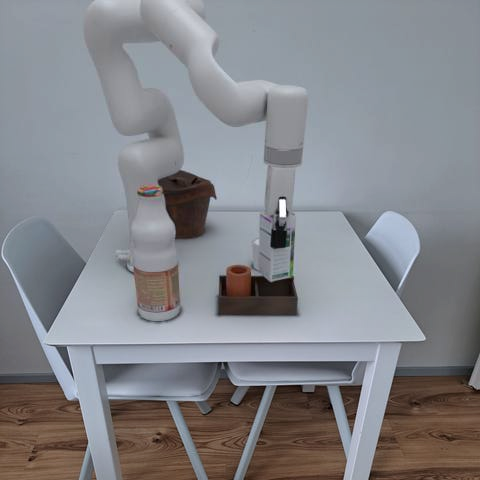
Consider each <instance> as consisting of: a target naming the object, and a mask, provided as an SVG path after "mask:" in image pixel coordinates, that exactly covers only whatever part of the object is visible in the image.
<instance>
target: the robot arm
mask: <svg viewBox="0 0 480 480" xmlns="http://www.w3.org/2000/svg"><path fill="white" fill-rule="evenodd" d="M206 15H207V13H206V7H205V4H204V1H203V0H93V1H92V2H91V3H90V4H89V5H88V7H87V9H86V11H85V14H84V17H83V37H84V41H85V46H86V48H87V51H88V53H89V56H90V58H91V60H92V63H93V65H94V67H95V70H96V73H97V74H98V78H99V81H100V85H101V89H102V91H103V96H104V98H105V102H106V106H107V109H108V112H109V117H110V119H111V122H112V125H113V128H114V129H115V130H116V132H117V133H118V134H120V135H121V136H125V137H133V136H141V135H143V134H147V137H148V138H145V139H141V140H138V141H134V142H131V143H129V144H126V145H125V146H124V147H123V148H122V149H121V150H120V152H119V153H118V156H117V166H118V171H119V175H120V178H121V181H122V186H123V190H124V195H125V203H126V210H127V211H126V212H127V220H128V229H129V240H130V248H127V249H115V251H114V252H115V254H114V256H115V258H118V260H119V261H126V267H127V269H128V271H130V272H131V273H133V274H134V267H133V249H134V242H133V240H132V237H131V225H132V223H133V221H134V219H135V217H136V213H137V209H138V205H139V201H140V198H139V197H138V194H137V189H138V187H140V186H143V185H158V180H159V179H161V178H164V177H167V176H170V175H173V174H175V173H177V172H178V171H179V170H182V168H183V166H184V164H185V163H184V162H185V151H184V147H183V141H182V138H181V133H180V130H179V125H178V120H177V117H176V113H175V110H174V106H173V103H172V102H171V100H170V99H169V97H168V96H167V95H166V94H165V92H163V91H162V90H160V89H158V88H155V87H154V88H153V87H146V88H143V87H142V83H141V81H140V77H139V74H138V70H137V66H136V65H135V63H134V60H133V59H132V58H131V56H130V54H128V52H127V51H126V49H124V47H123V45H124V44H149V43H150V44H151V43H158V42H160V43H162V45H164V46H165V48H167V50H169V51H170V52H171V54H173V56H174V57H176V59H177V60H178V61H179V62H180V63H182V65H183V66H184V67H185V68H186V69H187V72H188V78H189V81H190V84H191V87H192V90H193V92H194V94H195V95H196V97H197V98H198V100H199V101H200V102H201V103H202V104H203V105H204V107H205V108H206V109H207V110H208V111H209V112H210V113H211V114H212V115H213V116H214V117H215V118H217V119H218V120H219V121H221V123H222V124H225V125H226V126H229V127H232V128H240V127H245V126H248V125H252V124H257V123H261V122H265V131H264V149H263V151H264V152H263V164H265V165H266V166H267V169H266V180H265V192H264V199H263V200H264V201H263V202H264V203H263V205H264V208H265V210H264V211H266V214H267V215H268V216H270V215H273V229H271V241H270V247H271V248H285V247H286V239H287V217H289V216H290V215H291V212H292V210H293V201H294V191H295V180H296V168H298V167H301V166H302V164H303V163H302V162H303V153H304V144H305V134H306V133H305V132H306V124H307V114H308V104H309V93H308V91H307V89H306V88H305V87H303V86H298V85H291V84H278V83H275V82H272V81H268V80H266V79H254V80H245V81H239V82H238V81H237V82H236V81H235V80H234V79H233V78H232V77H231V76H229V75H228V73H226V71H224V70H223V69H222V67H221V66H220V65H219V64H218V62H217V61H216V59H215V57H216V56H217V52H218V50H219V47H220V38H219V35H218V33H217V32H216V30H214V29H213V28H212V27H211V26H210V25H209V24H208V23H207V22H206ZM158 186H159V185H158ZM162 201H163V203H164V206H165V208H166V204H165V197H164V194H163V196H162ZM276 212H279V214H276ZM276 218H279V220H277V222H276Z"/></svg>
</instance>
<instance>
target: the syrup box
mask: <svg viewBox="0 0 480 480" xmlns="http://www.w3.org/2000/svg"><path fill="white" fill-rule="evenodd" d="M276 214H279V212H276ZM277 220H279V218H276V222H277ZM296 221H297V215H296V213H294V212H292V211H291V215H290V216H289V217H287V239H286V247H285V248H271V247H270V241H271V229H273V215H270V216H268V215H267V214H266V210H260V211H259V230H258V231H259V232H258V233H259V235H258V238H259V270H258V272H259V274H260V275H261V276H264V277H265V278H266V279H267V280H269V281H270V282H273V281H276V280H281V279H286V278H291V277H293V276H294V261H295V260H294V259H295V243H296V242H295V241H296V225H297V222H296Z"/></svg>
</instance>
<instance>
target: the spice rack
mask: <svg viewBox="0 0 480 480" xmlns="http://www.w3.org/2000/svg"><path fill="white" fill-rule="evenodd" d="M298 301H299V297H298V292H297V288H296V285H295V276H294V275H293V277H291V278H286V279H281V280H276V281H273V282H270V281H269V280H267V279H266V278H265V277H264V276H263V275H251V292H250V296H226V274H224V275H223V274H222V275H221V274H220V275H218V315H219V316H297V313H298Z"/></svg>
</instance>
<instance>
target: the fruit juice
mask: <svg viewBox="0 0 480 480" xmlns="http://www.w3.org/2000/svg"><path fill="white" fill-rule="evenodd" d="M137 194H138V197H139V198H140V201H139V205H138V209H137V213H136V217H135V219H134V221H133V223H132V225H131V237H132V240H133V242H134V249H133V267H134V273H133V275H134V284H135V285H134V286H135V293H136V303H137V304H136V305H137V310H138V314H139V315H140V317H141V318H142V319H145V320H147V321H151V322H165V321H168V320H172V319H173V318H175V317H177V315H179V313H180V311H181V294H180V291H181V290H180V272H179V257H178V249H177V247H176V245H175V239H176V237H175V234H176V230H175V225H174V223H173V221H172V220H171V219H170V217H169V215H168V213H167V211H166V208H165V206H164V203H163V201H162V196H163V190H162V187H161V186H158V185H143V186H140V187H138V189H137Z"/></svg>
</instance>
